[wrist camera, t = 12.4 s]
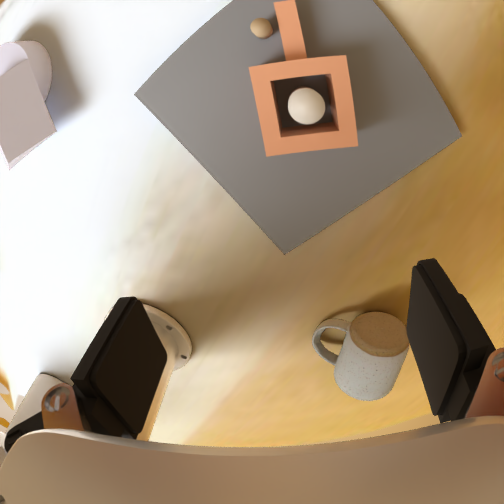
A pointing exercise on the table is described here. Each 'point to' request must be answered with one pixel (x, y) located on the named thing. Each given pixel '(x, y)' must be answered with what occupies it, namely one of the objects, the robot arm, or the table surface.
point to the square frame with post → (299, 65)
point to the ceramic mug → (366, 354)
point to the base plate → (304, 176)
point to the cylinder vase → (33, 399)
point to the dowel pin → (261, 28)
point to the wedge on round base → (24, 99)
